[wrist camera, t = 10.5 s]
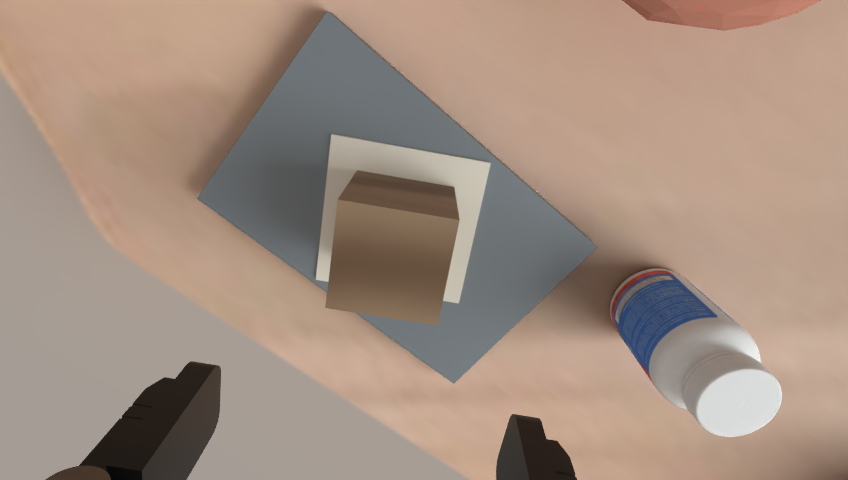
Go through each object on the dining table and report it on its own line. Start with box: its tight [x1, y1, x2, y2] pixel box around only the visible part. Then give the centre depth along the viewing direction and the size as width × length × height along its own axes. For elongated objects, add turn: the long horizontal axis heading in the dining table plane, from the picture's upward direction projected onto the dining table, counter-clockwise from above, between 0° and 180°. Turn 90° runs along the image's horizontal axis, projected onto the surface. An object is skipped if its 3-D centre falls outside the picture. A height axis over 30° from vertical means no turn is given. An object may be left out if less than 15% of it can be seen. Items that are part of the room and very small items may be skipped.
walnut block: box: [325, 170, 460, 326], centre depth 26 cm, size 6×6×6 cm
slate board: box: [197, 11, 597, 383], centre depth 29 cm, size 20×13×1 cm, turn 50°
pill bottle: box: [610, 268, 782, 437], centre depth 27 cm, size 6×5×10 cm
